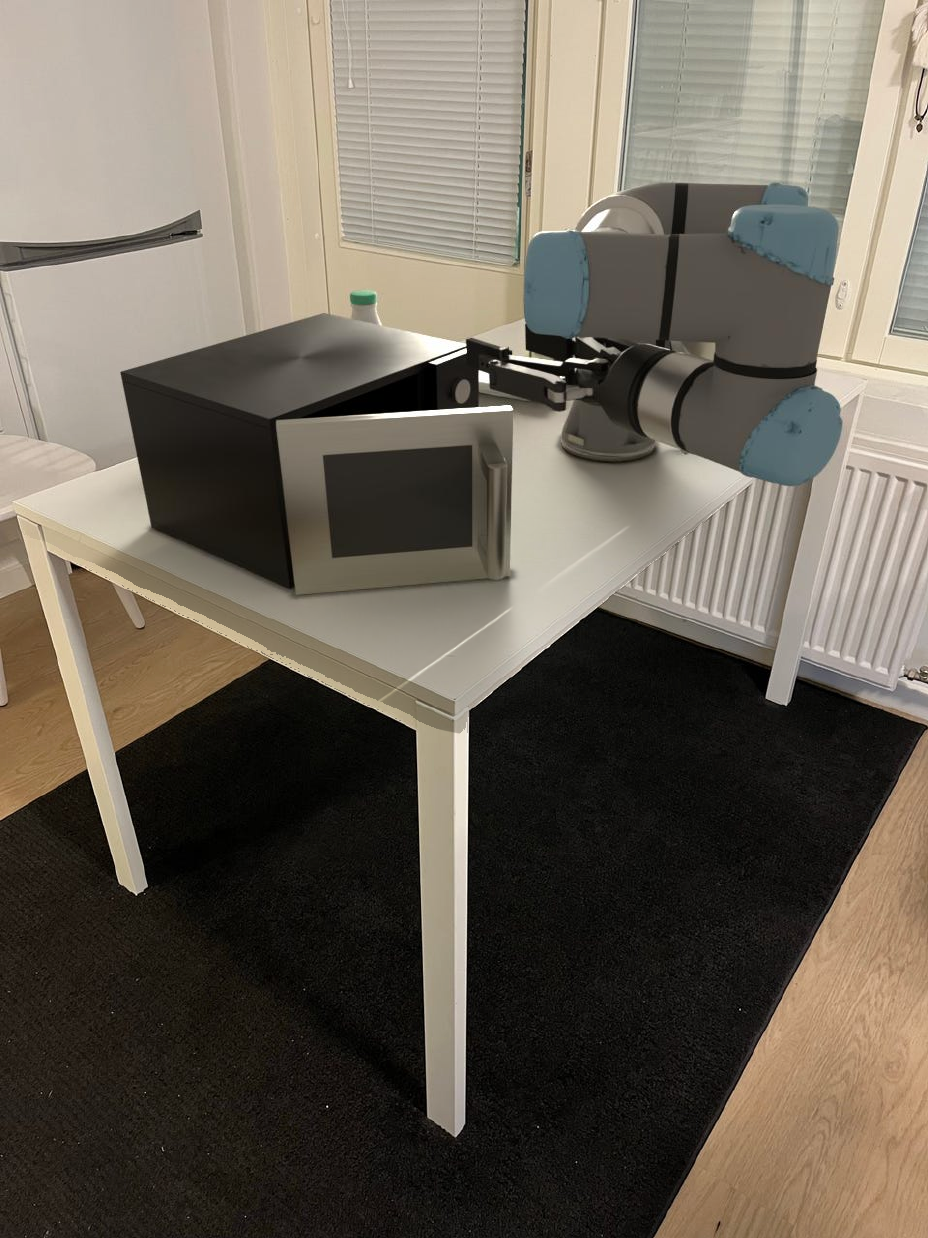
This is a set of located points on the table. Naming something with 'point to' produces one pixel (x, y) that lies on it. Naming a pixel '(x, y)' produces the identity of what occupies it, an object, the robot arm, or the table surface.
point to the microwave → (270, 422)
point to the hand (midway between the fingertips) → (499, 343)
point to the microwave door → (397, 497)
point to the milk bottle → (364, 306)
